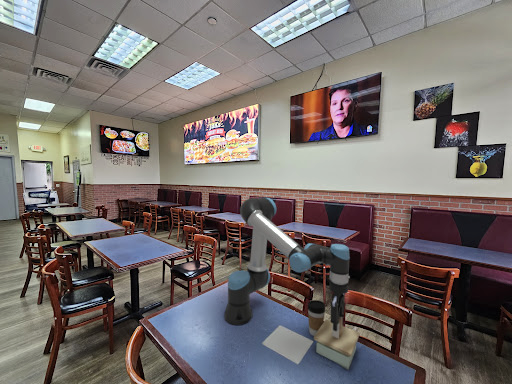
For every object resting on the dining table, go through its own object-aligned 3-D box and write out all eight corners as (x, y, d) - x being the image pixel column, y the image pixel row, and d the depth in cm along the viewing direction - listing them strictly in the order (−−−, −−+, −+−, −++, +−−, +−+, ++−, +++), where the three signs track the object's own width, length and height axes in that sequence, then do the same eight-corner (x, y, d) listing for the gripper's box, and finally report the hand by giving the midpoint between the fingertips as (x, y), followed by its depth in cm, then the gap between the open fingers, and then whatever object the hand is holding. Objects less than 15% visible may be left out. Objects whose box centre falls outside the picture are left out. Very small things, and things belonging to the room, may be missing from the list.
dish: (316, 353, 93) (316, 342, 92) (326, 336, 103) (327, 326, 103) (348, 370, 85) (348, 357, 84) (356, 349, 95) (356, 338, 95)
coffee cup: (325, 340, 100) (326, 309, 100) (306, 338, 102) (307, 307, 101) (323, 328, 108) (324, 299, 108) (306, 326, 110) (307, 297, 109)
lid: (313, 339, 92) (314, 320, 92) (325, 321, 104) (326, 305, 104) (351, 357, 83) (351, 336, 83) (359, 335, 95) (360, 317, 95)
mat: (261, 344, 97) (261, 343, 97) (279, 326, 110) (279, 325, 110) (298, 365, 86) (298, 364, 86) (313, 342, 99) (313, 341, 99)
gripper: (342, 291, 83) (340, 349, 85) (352, 276, 97) (351, 327, 98) (323, 285, 88) (321, 341, 89) (335, 272, 101) (334, 320, 102)
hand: (337, 333), depth 93 cm, fingers open, 4 cm apart
